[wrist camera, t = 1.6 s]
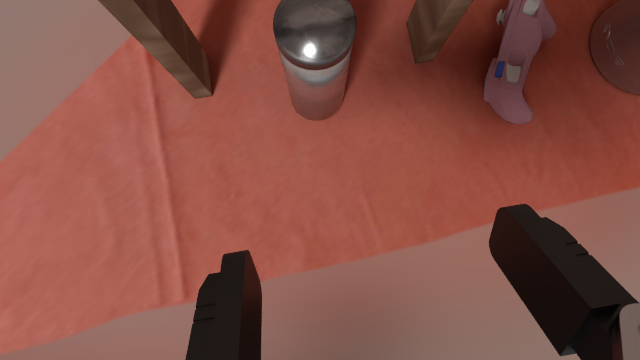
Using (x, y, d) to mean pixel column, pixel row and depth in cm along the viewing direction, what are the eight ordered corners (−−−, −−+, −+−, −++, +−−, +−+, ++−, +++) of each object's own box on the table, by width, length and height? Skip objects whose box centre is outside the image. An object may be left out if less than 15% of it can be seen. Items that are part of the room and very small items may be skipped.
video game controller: (501, 31, 33) (504, -25, 27) (555, 32, 31) (572, -29, 25) (474, 123, 32) (470, 86, 26) (529, 131, 30) (540, 92, 24)
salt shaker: (339, 65, 31) (348, -21, 20) (348, 116, 30) (363, 55, 20) (286, 74, 31) (267, -9, 20) (294, 125, 30) (279, 68, 20)
